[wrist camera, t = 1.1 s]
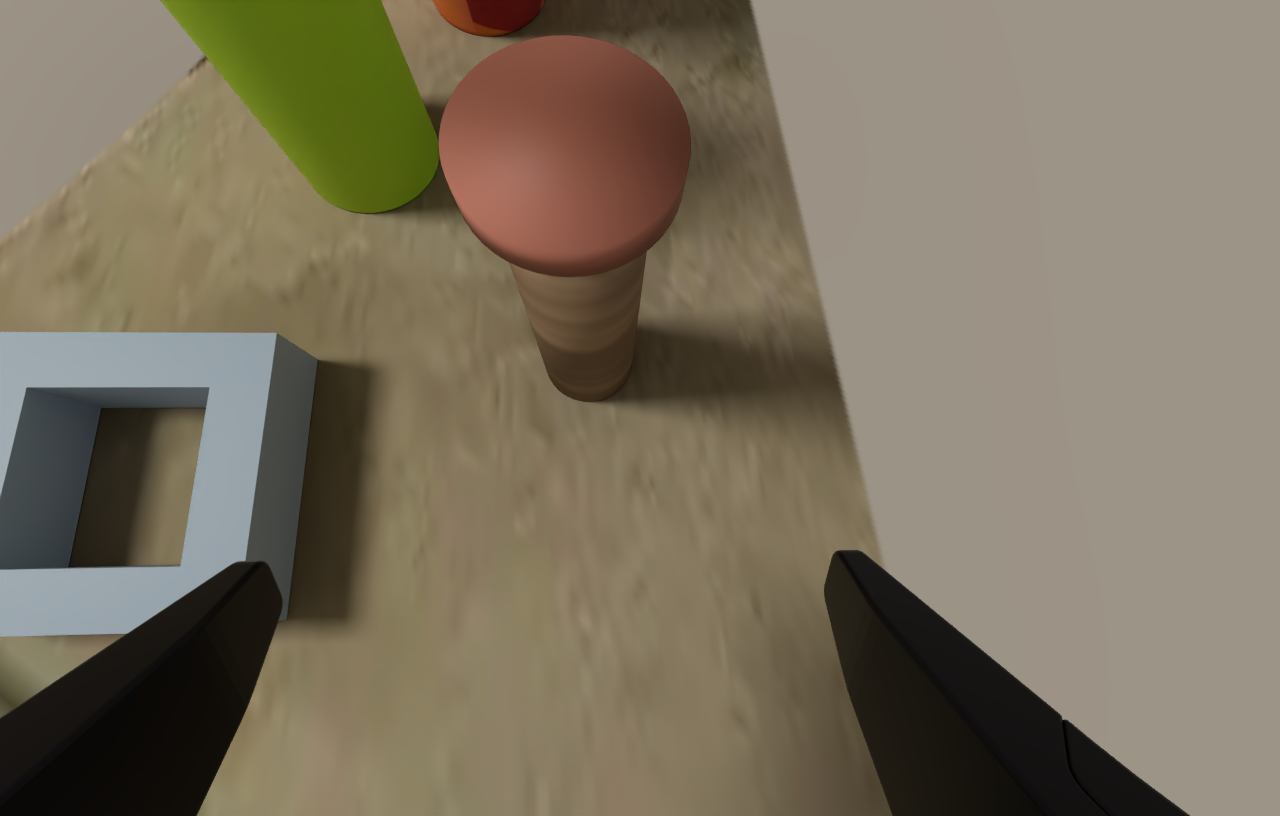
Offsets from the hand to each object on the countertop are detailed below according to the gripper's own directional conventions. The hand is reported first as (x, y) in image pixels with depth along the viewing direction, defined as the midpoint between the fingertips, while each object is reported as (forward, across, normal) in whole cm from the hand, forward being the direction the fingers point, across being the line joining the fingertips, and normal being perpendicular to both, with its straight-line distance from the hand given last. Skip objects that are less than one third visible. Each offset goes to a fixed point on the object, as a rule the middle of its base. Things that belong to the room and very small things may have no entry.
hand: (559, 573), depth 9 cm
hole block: (+12, +16, +7) cm, 21 cm away
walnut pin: (+15, 0, +4) cm, 16 cm away
